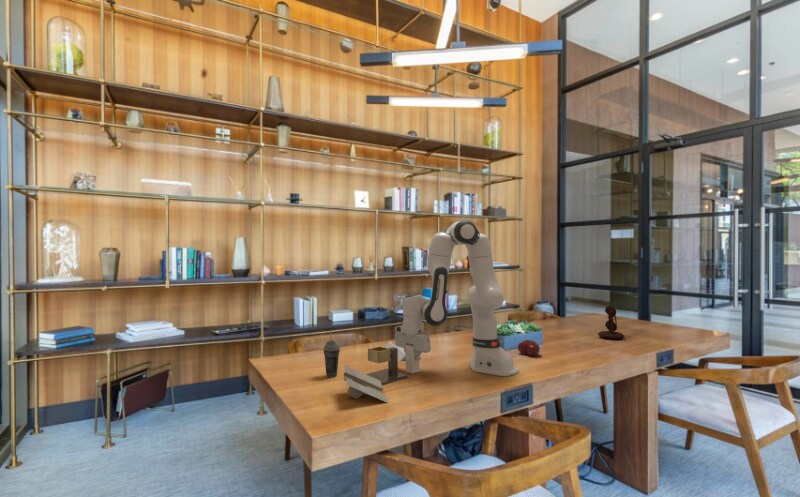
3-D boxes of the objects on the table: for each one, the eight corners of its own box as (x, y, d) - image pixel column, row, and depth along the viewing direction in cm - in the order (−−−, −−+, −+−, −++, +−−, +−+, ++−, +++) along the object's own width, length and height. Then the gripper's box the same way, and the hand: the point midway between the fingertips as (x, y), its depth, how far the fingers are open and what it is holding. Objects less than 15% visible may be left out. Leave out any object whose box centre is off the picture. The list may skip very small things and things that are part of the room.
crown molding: (421, 360, 205) (421, 353, 205) (398, 362, 202) (398, 355, 202) (403, 346, 235) (402, 340, 235) (383, 348, 232) (383, 342, 232)
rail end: (419, 371, 184) (419, 343, 184) (412, 373, 181) (412, 344, 181) (412, 369, 187) (412, 341, 188) (405, 371, 184) (405, 343, 184)
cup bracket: (407, 377, 175) (407, 347, 175) (380, 385, 164) (380, 354, 164) (386, 370, 185) (386, 342, 185) (359, 378, 174) (359, 348, 174)
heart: (528, 349, 221) (515, 354, 216) (527, 336, 220) (514, 340, 215) (546, 354, 211) (533, 360, 206) (545, 340, 210) (532, 345, 205)
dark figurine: (626, 341, 244) (625, 308, 244) (599, 339, 249) (599, 307, 250) (622, 336, 258) (621, 305, 258) (596, 335, 263) (596, 304, 263)
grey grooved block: (364, 398, 163) (333, 374, 159) (380, 379, 163) (350, 355, 159) (370, 423, 145) (335, 397, 141) (389, 403, 145) (354, 376, 141)
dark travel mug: (326, 379, 172) (326, 333, 173) (321, 375, 179) (321, 330, 179) (342, 377, 176) (342, 331, 176) (336, 372, 182) (336, 329, 182)
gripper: (433, 331, 179) (434, 362, 179) (402, 325, 194) (402, 353, 194) (424, 333, 175) (424, 364, 175) (392, 327, 190) (392, 356, 189)
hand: (412, 359), depth 184 cm, fingers closed on rail end, 4 cm apart
